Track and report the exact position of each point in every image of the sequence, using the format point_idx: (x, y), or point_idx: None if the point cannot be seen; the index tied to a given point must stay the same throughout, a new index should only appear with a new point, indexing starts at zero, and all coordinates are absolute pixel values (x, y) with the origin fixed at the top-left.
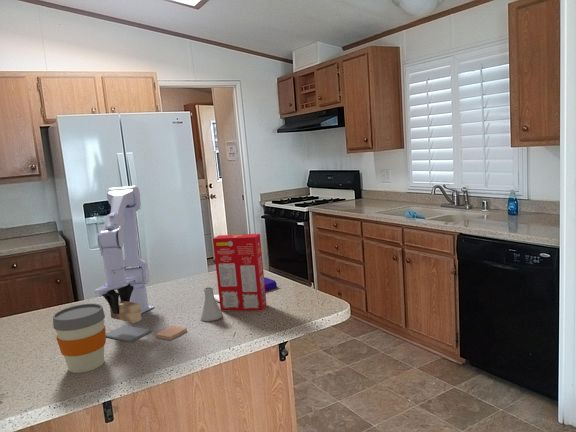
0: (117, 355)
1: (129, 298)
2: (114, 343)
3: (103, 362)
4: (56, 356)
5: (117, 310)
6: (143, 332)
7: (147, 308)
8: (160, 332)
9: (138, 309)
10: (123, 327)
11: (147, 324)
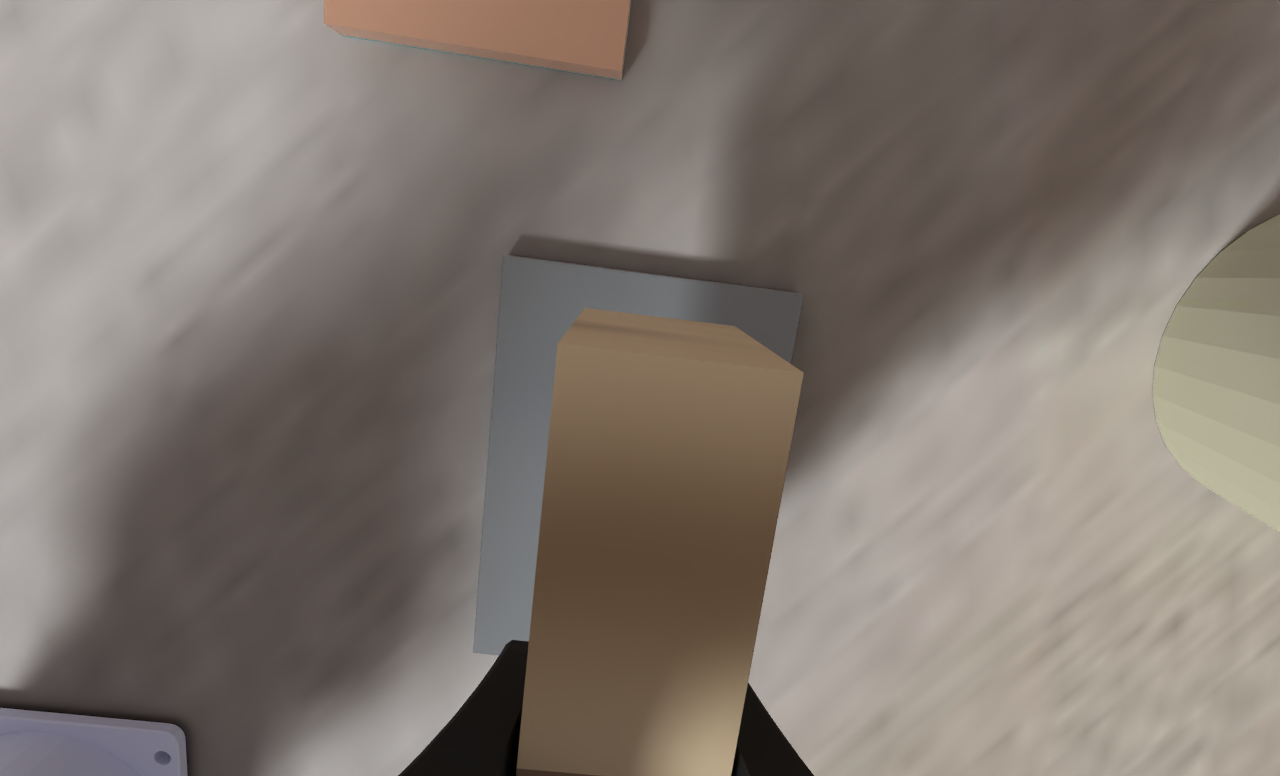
0: (1105, 197)
1: (437, 764)
2: (848, 447)
3: (1271, 219)
4: (1148, 747)
5: (756, 696)
6: (586, 295)
7: (6, 735)
8: (558, 38)
9: (621, 333)
10: (527, 617)
11: (345, 447)
